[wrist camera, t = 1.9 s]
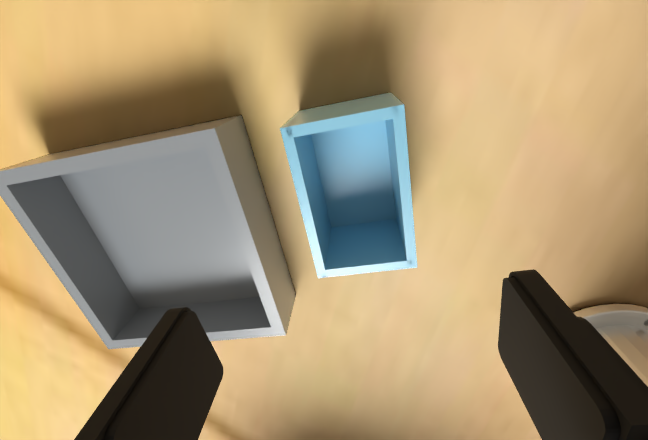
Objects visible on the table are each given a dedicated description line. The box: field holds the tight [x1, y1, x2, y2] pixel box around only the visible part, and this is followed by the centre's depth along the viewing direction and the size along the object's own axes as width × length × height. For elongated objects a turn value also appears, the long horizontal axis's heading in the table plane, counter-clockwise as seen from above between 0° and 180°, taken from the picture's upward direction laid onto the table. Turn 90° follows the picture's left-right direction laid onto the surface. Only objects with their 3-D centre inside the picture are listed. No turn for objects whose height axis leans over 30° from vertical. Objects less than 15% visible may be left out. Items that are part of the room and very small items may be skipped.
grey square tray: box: [0, 115, 296, 349], centre depth 26 cm, size 17×17×5 cm
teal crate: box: [280, 92, 417, 278], centre depth 21 cm, size 6×10×6 cm, turn 11°
